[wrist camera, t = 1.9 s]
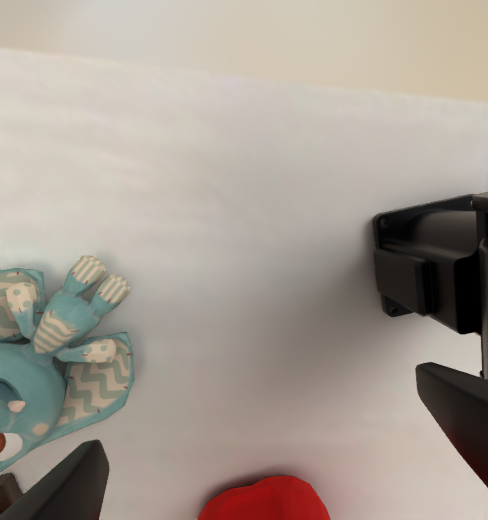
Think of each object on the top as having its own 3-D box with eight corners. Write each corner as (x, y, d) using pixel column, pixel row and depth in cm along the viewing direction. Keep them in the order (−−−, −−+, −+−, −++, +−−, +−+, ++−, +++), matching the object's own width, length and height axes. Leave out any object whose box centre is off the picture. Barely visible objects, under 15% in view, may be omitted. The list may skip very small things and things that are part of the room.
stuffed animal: (192, 354, 13) (-4, 597, 12) (189, 316, 20) (66, 465, 19) (-39, 185, 11) (-298, 459, 10) (48, 208, 18) (-98, 369, 17)
